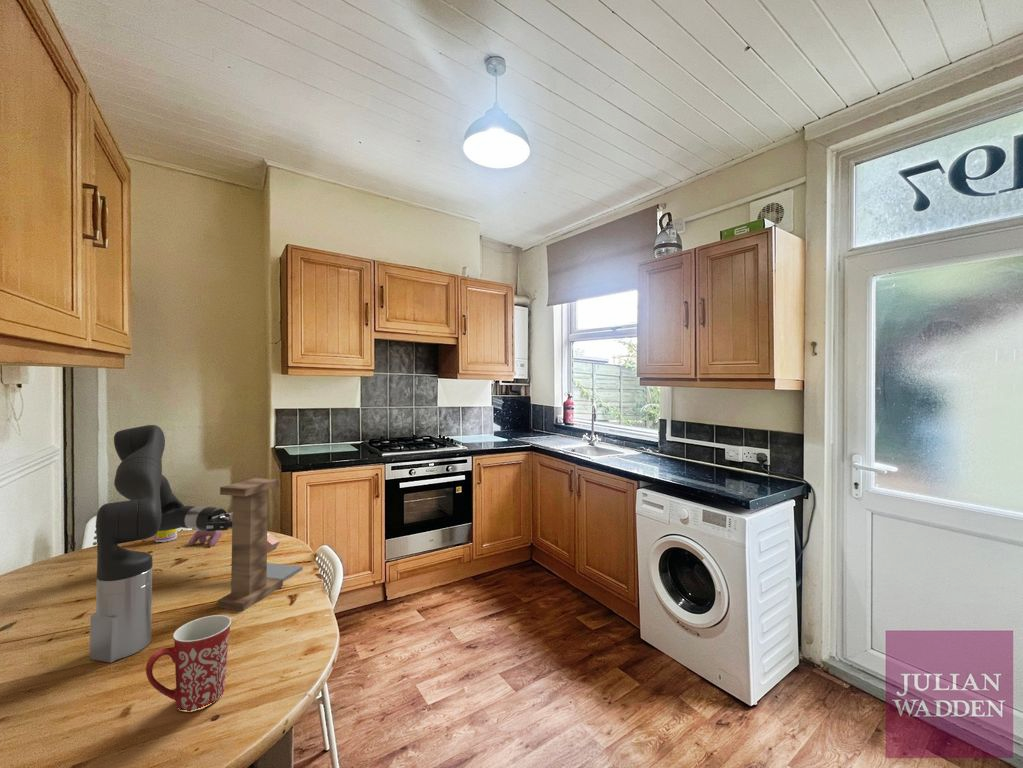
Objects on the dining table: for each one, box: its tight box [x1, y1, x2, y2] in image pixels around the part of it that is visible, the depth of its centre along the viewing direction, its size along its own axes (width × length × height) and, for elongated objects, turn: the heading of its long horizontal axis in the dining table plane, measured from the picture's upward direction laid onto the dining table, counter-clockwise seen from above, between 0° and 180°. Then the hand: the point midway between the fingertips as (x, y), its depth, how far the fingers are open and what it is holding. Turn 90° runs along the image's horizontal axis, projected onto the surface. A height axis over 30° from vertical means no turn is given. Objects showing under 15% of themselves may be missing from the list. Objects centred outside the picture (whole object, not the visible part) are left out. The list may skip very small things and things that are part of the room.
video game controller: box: [187, 530, 223, 547], centre depth 155 cm, size 10×5×7 cm, turn 85°
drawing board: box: [267, 562, 304, 582], centre depth 131 cm, size 9×16×1 cm, turn 78°
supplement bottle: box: [154, 528, 178, 543], centre depth 159 cm, size 7×7×13 cm
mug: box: [145, 614, 232, 711], centre depth 77 cm, size 13×9×14 cm
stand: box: [217, 477, 284, 612], centre depth 117 cm, size 14×9×32 cm, turn 168°
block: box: [229, 512, 281, 554], centre depth 133 cm, size 3×18×3 cm
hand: (249, 522), depth 133 cm, fingers closed on block, 3 cm apart
